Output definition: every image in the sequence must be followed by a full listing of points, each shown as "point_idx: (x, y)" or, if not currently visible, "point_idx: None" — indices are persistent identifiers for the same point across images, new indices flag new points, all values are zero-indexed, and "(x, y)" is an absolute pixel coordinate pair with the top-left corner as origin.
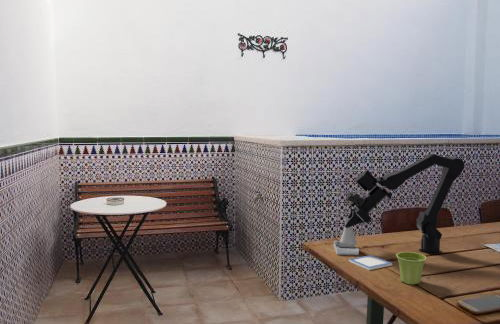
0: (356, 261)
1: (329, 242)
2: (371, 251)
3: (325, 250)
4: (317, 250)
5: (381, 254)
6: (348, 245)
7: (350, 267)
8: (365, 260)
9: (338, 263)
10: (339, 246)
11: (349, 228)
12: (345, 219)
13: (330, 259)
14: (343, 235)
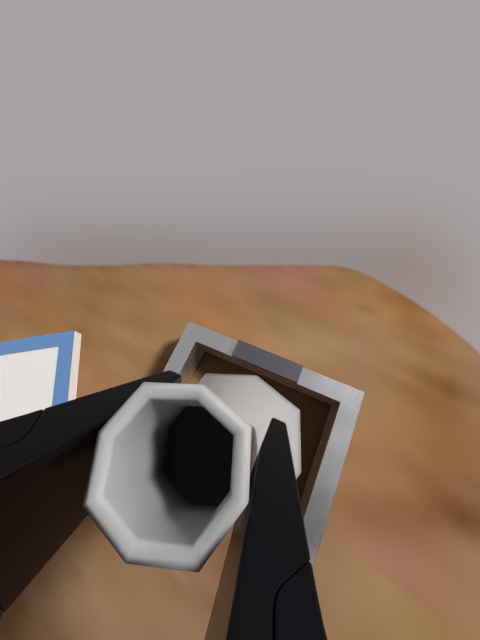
0: (27, 347)
1: (466, 423)
2: (159, 606)
3: (292, 313)
4: (306, 275)
5: (70, 632)
6: (306, 490)
7: (22, 301)
8: (13, 404)
9: (89, 279)
10: (326, 424)
11: (159, 436)
12: (220, 422)
13: (151, 272)
14: (219, 386)
